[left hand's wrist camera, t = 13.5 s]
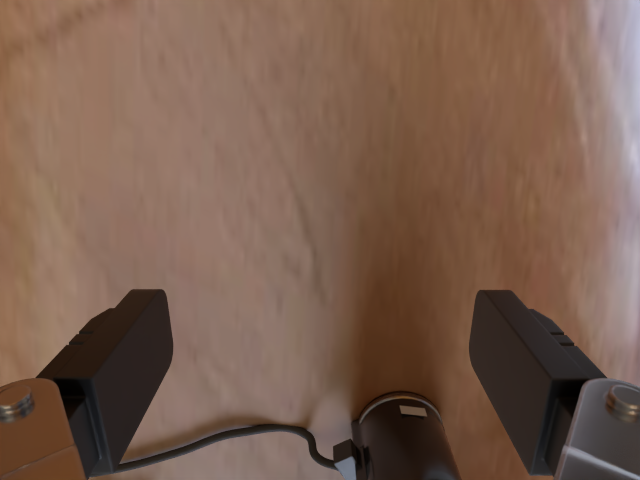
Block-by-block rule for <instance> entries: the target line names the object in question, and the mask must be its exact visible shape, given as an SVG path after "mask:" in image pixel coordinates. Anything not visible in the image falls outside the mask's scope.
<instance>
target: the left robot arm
mask: <svg viewBox="0 0 640 480" xmlns="http://www.w3.org/2000/svg"><path fill="white" fill-rule="evenodd" d="M469 355H470V360H471V364H472V367H473V369H474V371H475V373H476V375H477V377H478V378H479V380H480V382H481V384H482V386H483V388H484V390H485V392H486V394H487V396H488V397H489V399H490V401H491V403H492V405H493V407H494V409H495V411H496V413H497V414H498V416H499V418H500V420H501V422H502V424H503V426H504V428H505V430H506V432H507V433H508V435H509V437H510V439H511V441H512V443H513V445H514V447H515V449H516V450H517V452H518V454H519V456H520V458H521V460H522V462H523V464H524V466H525V468H526V469H527V471H528V473H529V475H553V477H554V480H640V387H638V386H636V385H633V384H630V383H627V382H624V381H620V380H616V379H609V378H607V377H606V376H605V375H604V374H603V373H602V372H601V371H600V370H599V369H598V368H597V367H596V366H595V365H594V364H593V362H592V361H591V360H590V359H589V358H588V357H587V356H586V355H585V354H584V353H583V352H582V351H581V350H580V349H579V348H578V347H577V346H574V343H573V342H572V341H571V340H570V338H569V337H568V336H567V335H564V332H563V331H562V330H561V329H560V328H559V327H558V326H557V325H556V324H555V323H554V322H553V321H552V320H551V319H549V318H548V317H546V316H544V315H542V314H541V313H539V312H537V311H535V310H534V309H528V308H527V307H526V306H525V305H524V304H523V303H522V302H521V300H520V299H519V298H518V297H517V296H516V295H515V294H514V293H513V292H512V291H511V290H480V291H478V293H477V295H476V299H475V305H474V312H473V319H472V327H471V334H470V341H469ZM172 356H173V338H172V331H171V324H170V317H169V309H168V302H167V297H166V293H165V292H164V290H162V289H133V290H131V291H130V292H129V293H128V294H127V295H126V296H125V297H124V298H123V299H122V301H121V302H120V303H119V304H118V305H117V306H116V307H115V308H109V309H108V310H106V311H104V312H102V313H101V314H99V315H97V316H96V317H94V318H92V319H91V320H90V321H89V322H88V323H87V324H86V325H85V326H84V327H83V328H82V329H81V330H80V331H79V334H77V335H76V336H75V337H74V338H73V339H72V340H71V341H70V342H69V345H66V346H65V347H64V348H63V349H62V350H61V351H60V352H59V353H58V355H57V356H56V357H55V358H54V359H53V360H52V361H51V362H50V363H49V364H48V365H47V366H46V367H45V368H44V369H43V370H42V371H41V372H40V373H39V375H38V376H37V377H36V378H31V379H24V380H20V381H16V382H13V383H10V384H7V385H4V386H2V387H0V480H88V478H89V477H95V476H102V475H108V474H114V473H118V472H123V471H128V470H132V469H136V468H140V467H144V466H148V465H151V464H155V463H158V462H161V461H165V460H168V459H171V458H175V457H178V456H181V455H184V454H187V453H190V452H192V451H195V450H197V449H200V448H202V447H205V446H207V445H210V444H212V443H215V442H218V441H221V440H225V439H229V438H234V437H241V436H248V435H254V434H260V433H266V432H275V431H284V432H291V433H294V434H297V435H299V436H301V437H303V438H305V439H306V440H307V441H308V444H309V452H310V455H311V457H312V458H313V459H314V460H315V461H316V462H317V463H318V464H320V465H322V466H324V467H327V468H331V469H334V470H337V471H339V472H340V473H341V474H342V476H343V477H344V478H345V480H462V479H461V477H460V474H459V471H458V468H457V465H456V462H455V459H454V457H453V454H452V451H451V448H450V445H449V442H448V440H447V437H446V434H445V430H444V427H443V424H442V420H441V417H440V414H439V412H438V410H437V408H436V407H435V406H434V405H433V404H432V403H431V402H430V401H429V400H427V399H426V398H424V397H422V396H419V395H417V394H413V393H406V392H398V393H391V394H387V395H384V396H381V397H379V398H377V399H375V400H374V401H372V402H371V403H370V404H369V405H368V406H367V407H366V408H365V409H364V410H363V411H362V413H361V415H360V417H359V419H358V420H356V421H354V422H352V423H351V428H352V439H353V441H352V440H351V439H349V440H346V441H344V442H342V443H340V444H337V445H335V446H333V457H334V461H333V460H330V459H327V458H324V457H323V456H321V455H320V454H319V453H318V451H317V448H316V442H315V438H314V436H313V435H312V434H311V433H310V432H308V431H307V430H305V429H303V428H300V427H296V426H288V425H278V424H268V425H260V426H254V427H248V428H241V429H234V430H229V431H225V432H221V433H218V434H215V435H212V436H209V437H207V438H204V439H202V440H200V441H197V442H195V443H192V444H190V445H187V446H184V447H181V448H178V449H175V450H172V451H168V452H165V453H162V454H158V455H155V456H152V457H148V458H145V459H141V460H137V461H133V462H129V463H124V464H119V463H120V461H121V459H122V457H123V455H124V453H125V451H126V449H127V447H128V445H129V444H130V442H131V440H132V438H133V436H134V434H135V432H136V430H137V428H138V426H139V424H140V422H141V421H142V419H143V417H144V415H145V413H146V411H147V409H148V407H149V405H150V403H151V401H152V399H153V397H154V396H155V394H156V392H157V390H158V388H159V386H160V384H161V382H162V380H163V378H164V376H165V374H166V373H167V371H168V369H169V367H170V364H171V361H172Z"/></svg>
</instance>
